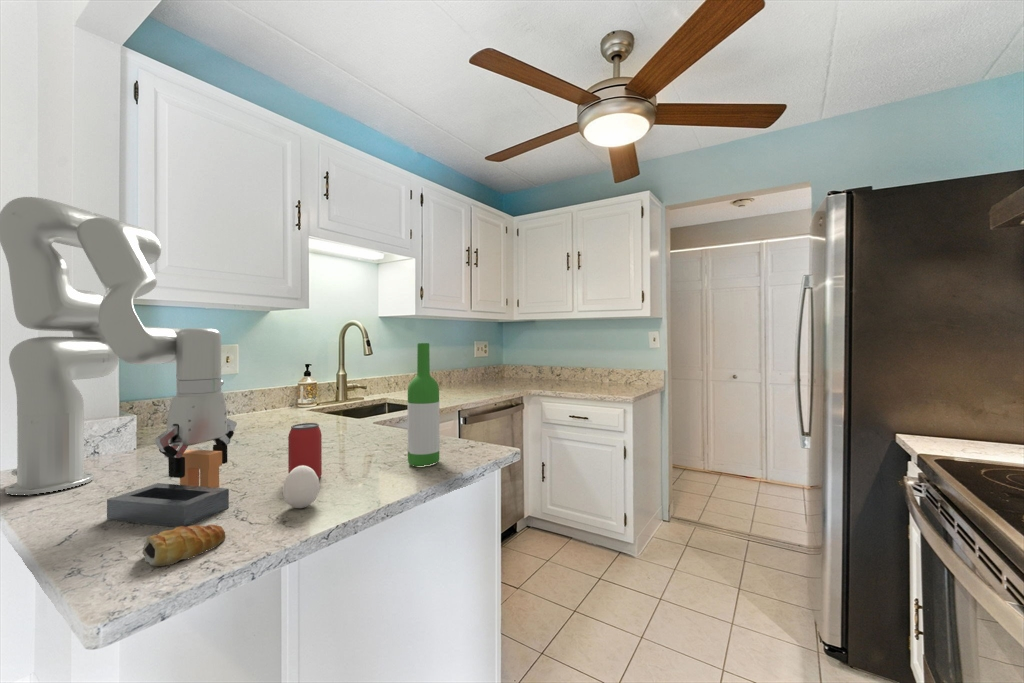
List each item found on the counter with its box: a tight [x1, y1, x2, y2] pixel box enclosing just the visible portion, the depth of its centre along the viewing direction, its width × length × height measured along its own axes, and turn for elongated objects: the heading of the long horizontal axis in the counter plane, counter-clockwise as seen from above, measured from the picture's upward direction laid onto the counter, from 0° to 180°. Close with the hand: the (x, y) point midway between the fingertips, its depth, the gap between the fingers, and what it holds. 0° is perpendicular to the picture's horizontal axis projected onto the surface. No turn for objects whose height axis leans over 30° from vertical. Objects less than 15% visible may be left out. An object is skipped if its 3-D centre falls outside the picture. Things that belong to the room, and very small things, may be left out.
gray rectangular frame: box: [106, 482, 230, 528], centre depth 75 cm, size 16×8×4 cm, turn 79°
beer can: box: [287, 422, 323, 479], centre depth 93 cm, size 7×7×12 cm
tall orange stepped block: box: [179, 449, 223, 488], centre depth 88 cm, size 8×3×8 cm, turn 79°
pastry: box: [142, 524, 226, 567], centre depth 61 cm, size 9×7×4 cm
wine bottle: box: [407, 342, 441, 466], centre depth 105 cm, size 8×8×30 cm
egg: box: [282, 465, 321, 509], centre depth 77 cm, size 6×6×8 cm
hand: (199, 469), depth 88 cm, fingers open, 9 cm apart
